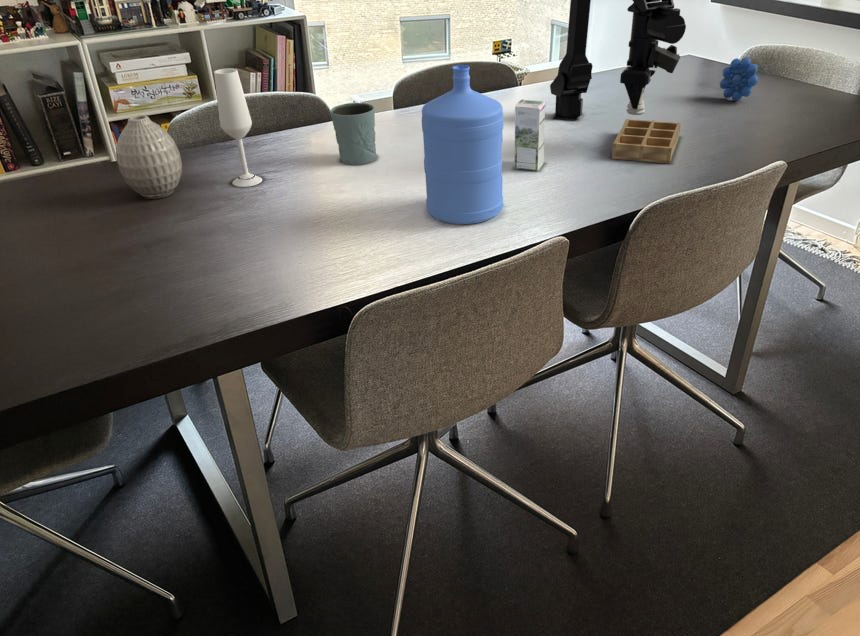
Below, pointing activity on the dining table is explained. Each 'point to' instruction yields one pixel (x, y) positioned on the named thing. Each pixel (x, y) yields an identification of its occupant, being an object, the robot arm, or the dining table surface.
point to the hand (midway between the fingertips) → (636, 106)
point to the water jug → (463, 153)
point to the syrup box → (529, 134)
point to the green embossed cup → (355, 132)
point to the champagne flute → (234, 116)
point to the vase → (148, 158)
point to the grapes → (739, 78)
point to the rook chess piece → (639, 110)
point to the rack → (646, 141)
